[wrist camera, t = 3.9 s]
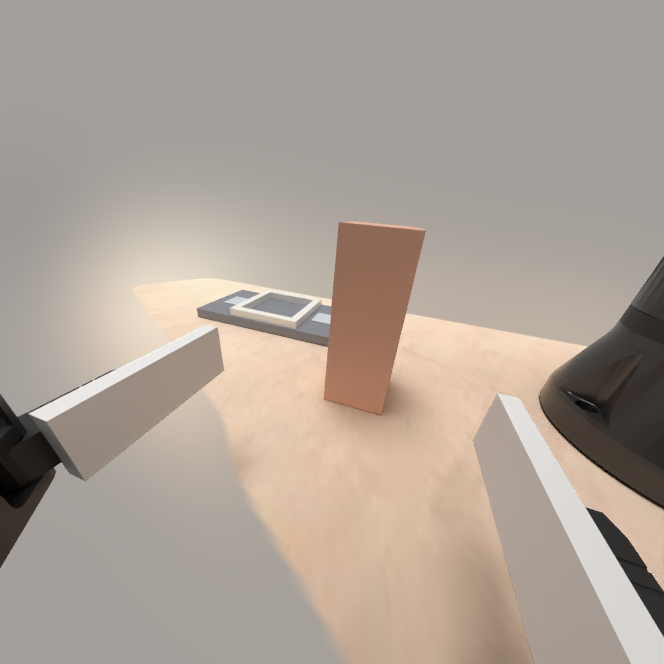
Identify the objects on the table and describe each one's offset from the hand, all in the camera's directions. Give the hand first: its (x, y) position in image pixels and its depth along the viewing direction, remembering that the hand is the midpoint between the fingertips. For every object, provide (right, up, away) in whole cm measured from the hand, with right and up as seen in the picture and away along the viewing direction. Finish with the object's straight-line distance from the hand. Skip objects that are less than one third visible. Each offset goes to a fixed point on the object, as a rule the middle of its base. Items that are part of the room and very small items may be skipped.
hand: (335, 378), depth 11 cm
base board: (-8, +4, +24) cm, 25 cm away
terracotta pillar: (+2, -3, +11) cm, 11 cm away
